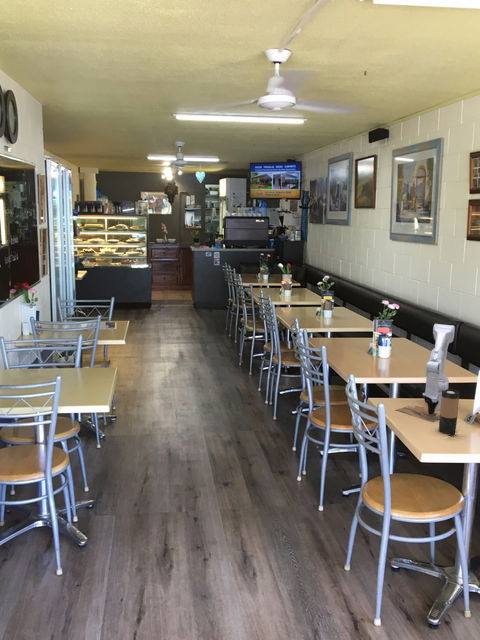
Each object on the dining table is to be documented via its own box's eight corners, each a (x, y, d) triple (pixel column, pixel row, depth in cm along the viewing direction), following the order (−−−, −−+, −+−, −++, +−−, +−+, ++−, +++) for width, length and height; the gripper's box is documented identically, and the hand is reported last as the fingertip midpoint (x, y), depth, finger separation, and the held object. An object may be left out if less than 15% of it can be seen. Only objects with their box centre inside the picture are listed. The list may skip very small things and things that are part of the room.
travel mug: (456, 437, 276) (460, 394, 272) (439, 435, 277) (442, 393, 274) (454, 431, 283) (458, 389, 280) (437, 429, 285) (440, 388, 281)
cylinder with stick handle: (436, 416, 300) (437, 403, 299) (430, 418, 297) (431, 405, 296) (417, 411, 308) (418, 399, 307) (412, 413, 304) (413, 400, 303)
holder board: (408, 407, 317) (408, 403, 316) (446, 419, 300) (447, 415, 300) (394, 412, 309) (394, 407, 309) (433, 424, 292) (433, 419, 292)
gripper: (420, 380, 305) (418, 407, 308) (426, 389, 291) (424, 416, 293) (435, 381, 305) (432, 407, 307) (442, 389, 290) (439, 417, 293)
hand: (429, 412), depth 300 cm, fingers closed on cylinder with stick handle, 5 cm apart
